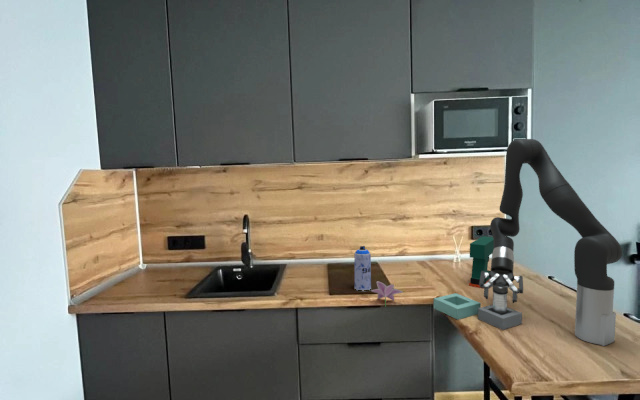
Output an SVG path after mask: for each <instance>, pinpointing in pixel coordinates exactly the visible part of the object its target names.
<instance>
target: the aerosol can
mask: <svg viewBox="0 0 640 400" xmlns="http://www.w3.org/2000/svg"><path fill="white" fill-rule="evenodd" d="M371 255H372V254H371V252H370V251H369V250H368V249H367V248H366V247H365V245H361V246H359V248H358V249H356V251H355V252H354V263H353V264H354V290H355V289H356V290H355V291H358V290H362V291H361V292H365V291H364V290H369V291H371V290H372V281H371V280H372V278H371V277H372V276H371V275H372V273H371V272H372V267H371V265H372V264H371V263H372V261H371V260H372V259H371ZM370 289H371V290H370Z"/></svg>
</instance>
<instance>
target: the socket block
mask: <svg viewBox="0 0 640 400" xmlns="http://www.w3.org/2000/svg"><path fill="white" fill-rule="evenodd" d="M477 320H479V321H482V322H483V323H486V324H488V325H491V326H493V327H495V328H498V329H500V330H502V331H504V330H507V329H510V328H513V327H516V326H519V325H522V324H523V313H522V312H520V311H519V310H515V309H513V308H510V307H508V306H507V314H504V315H500V314H497V313H495V312H493V303H492V304H488V305H485V306H481V308H478V314H477Z"/></svg>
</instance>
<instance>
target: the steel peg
mask: <svg viewBox="0 0 640 400" xmlns="http://www.w3.org/2000/svg"><path fill="white" fill-rule="evenodd" d="M492 292H493V293H492V304H493V312H495V313H497V314H500V315H504V314H507V307H508V293H509V287H508V286H506V285H502V284H494V285H493V286H492Z"/></svg>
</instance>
